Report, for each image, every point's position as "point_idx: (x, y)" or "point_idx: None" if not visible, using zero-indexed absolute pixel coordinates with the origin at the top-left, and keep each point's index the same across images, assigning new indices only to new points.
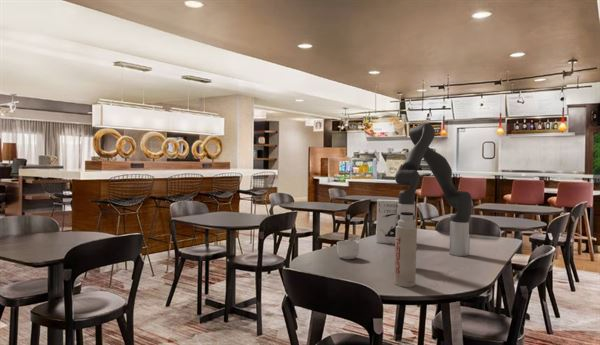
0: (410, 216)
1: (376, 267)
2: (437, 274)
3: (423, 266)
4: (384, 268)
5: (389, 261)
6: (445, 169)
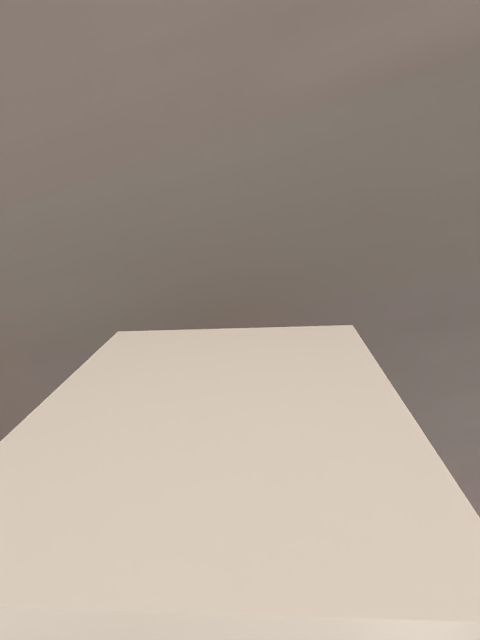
0: None
1: (40, 95)
2: None
3: None
4: (55, 197)
5: (457, 145)
6: None
